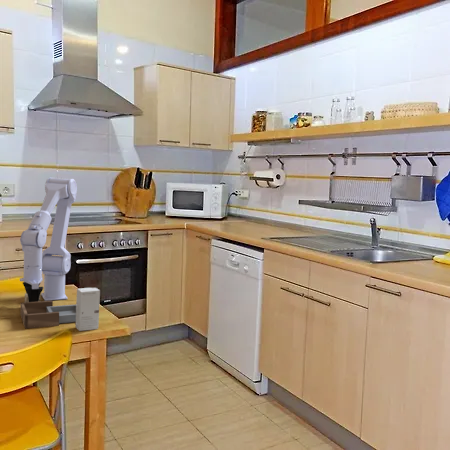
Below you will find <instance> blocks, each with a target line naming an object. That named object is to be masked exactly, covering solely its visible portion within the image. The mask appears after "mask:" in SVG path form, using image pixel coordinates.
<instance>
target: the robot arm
mask: <svg viewBox="0 0 450 450" xmlns="http://www.w3.org/2000/svg"><path fill="white" fill-rule="evenodd" d="M44 190H45V197H44V200H43V202H42V204H41V208H40V210H38V211H36V212H35V213H34V216H33V217H32V219H31V220H30V223H29V226H28V228H27V229H25V230H23V231H22V233H21V235H20V239H19V240H20V245H21V249H22V252H23V277H20V278H19V281H20V282H22V286H24V290H25V294H27V295H28V299H29V302H38V301H39V297H40V298H41V297H42V298H43V301H57V300H58V301H60V300H68V296H67V295H66V274H68V273H69V271H70V270H71V264H72V262H71V257H72V255H71V253H70V252H69V251H68V249H66V248H65V247H66V239H67V233H68V227H69V222H70V216H71V209H72V204H74V203H75V202H76V198H77V194H78V193H77V192H78V185H77V182H76V180H75V179H74V178H62V177H61V178H59V177H52V176H50V177H48V178H47V179H46V181H45V184H44ZM55 207H56V210H55V215H54V222H53V225H52V226H53V227H52V232H51V239H50V246H48V247H47V248H45V249H44V250H43V247H44V246H45V245H46V243H47V235H48V232H47V231H48V229H49V226H50V224H51V222H52V219H53V218H52V216H51V214H52V212H53V211H54V209H55ZM43 275H44V279H43ZM42 282H43V286H40V285H41V283H42Z"/></svg>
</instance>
